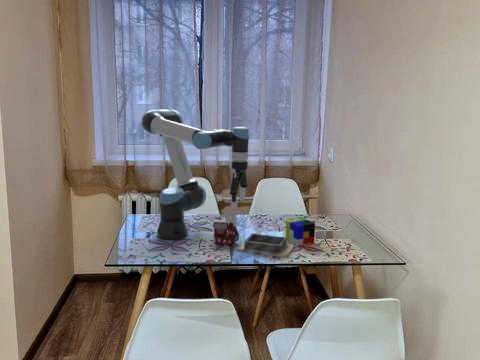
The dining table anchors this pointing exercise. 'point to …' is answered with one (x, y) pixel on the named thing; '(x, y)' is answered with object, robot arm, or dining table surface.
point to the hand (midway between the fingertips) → (238, 204)
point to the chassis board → (266, 245)
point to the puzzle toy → (300, 231)
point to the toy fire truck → (225, 233)
